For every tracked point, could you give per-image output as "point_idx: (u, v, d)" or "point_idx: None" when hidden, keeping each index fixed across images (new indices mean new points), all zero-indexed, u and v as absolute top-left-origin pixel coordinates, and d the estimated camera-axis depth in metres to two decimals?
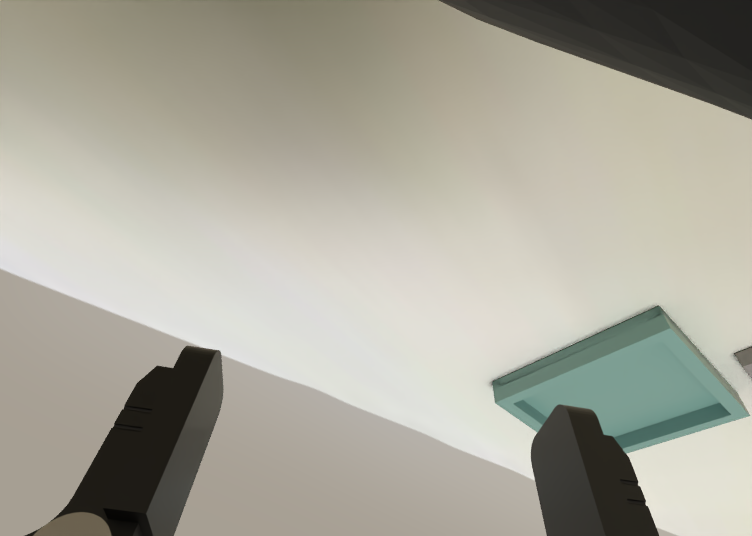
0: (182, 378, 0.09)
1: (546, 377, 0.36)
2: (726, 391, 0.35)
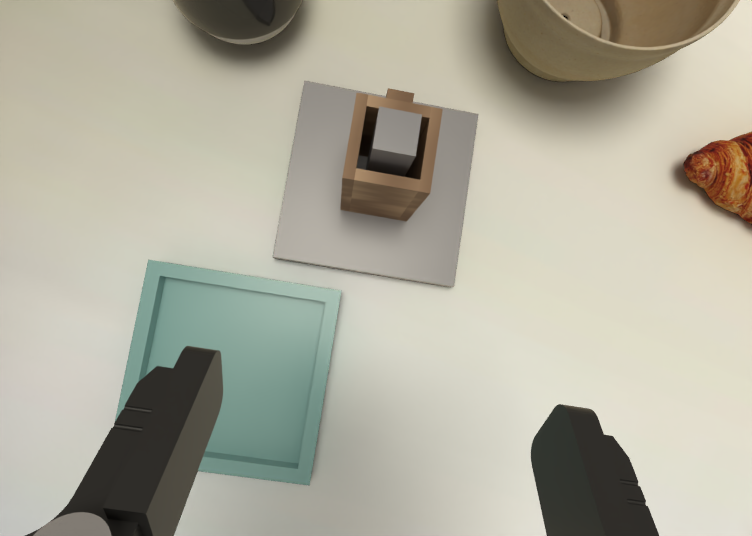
0: (182, 378, 0.09)
1: None
2: (281, 282, 0.34)
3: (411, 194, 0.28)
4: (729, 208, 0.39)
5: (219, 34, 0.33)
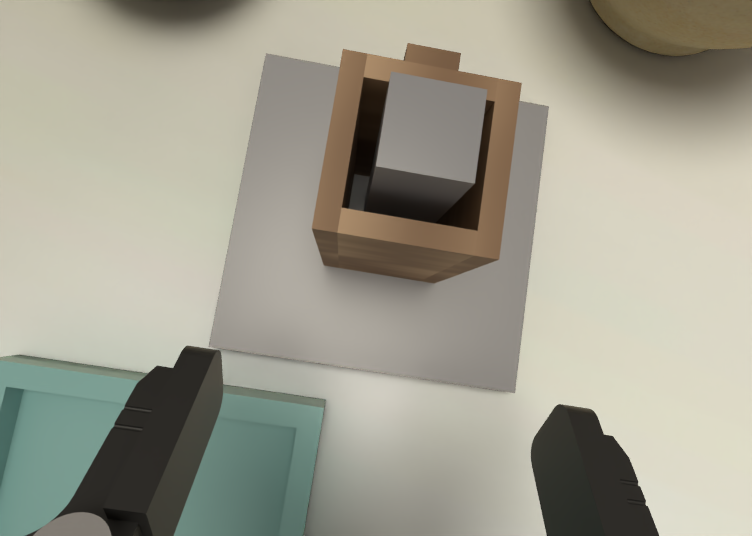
0: (182, 378, 0.09)
1: None
2: None
3: (456, 258, 0.14)
4: None
5: None
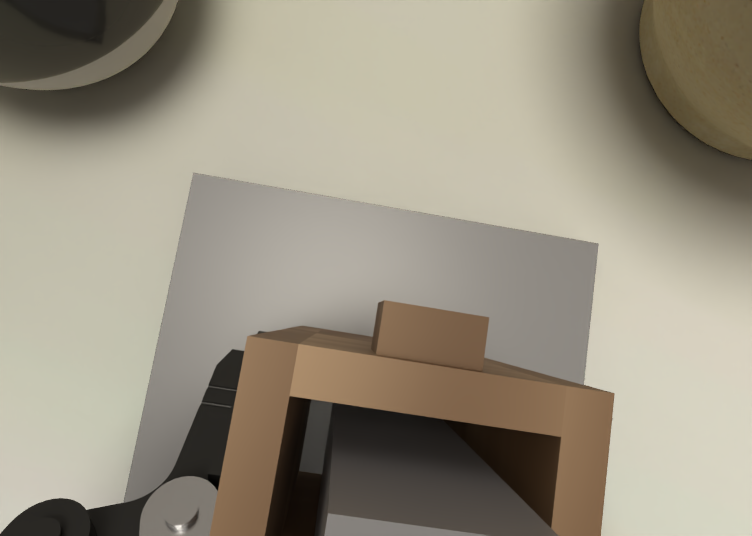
0: None
1: None
2: None
3: None
4: None
5: None
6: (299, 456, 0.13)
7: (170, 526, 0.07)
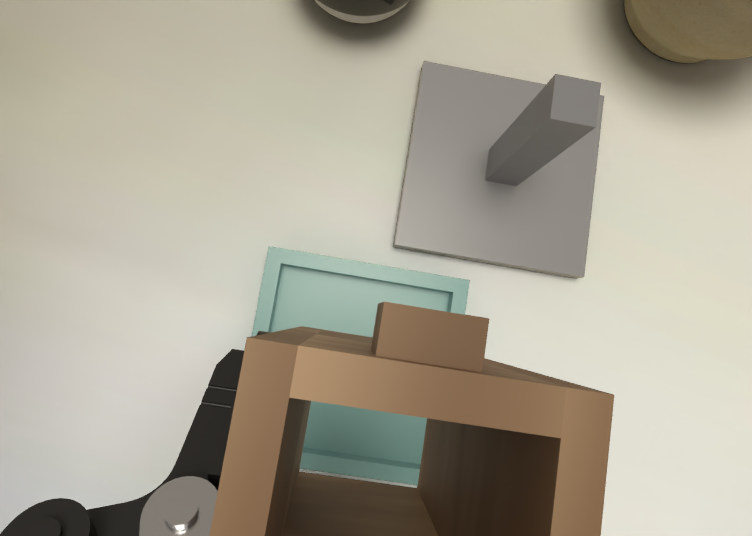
0: None
1: None
2: (406, 270, 0.32)
3: None
4: None
5: (345, 10, 0.32)
6: (299, 457, 0.13)
7: (170, 526, 0.07)
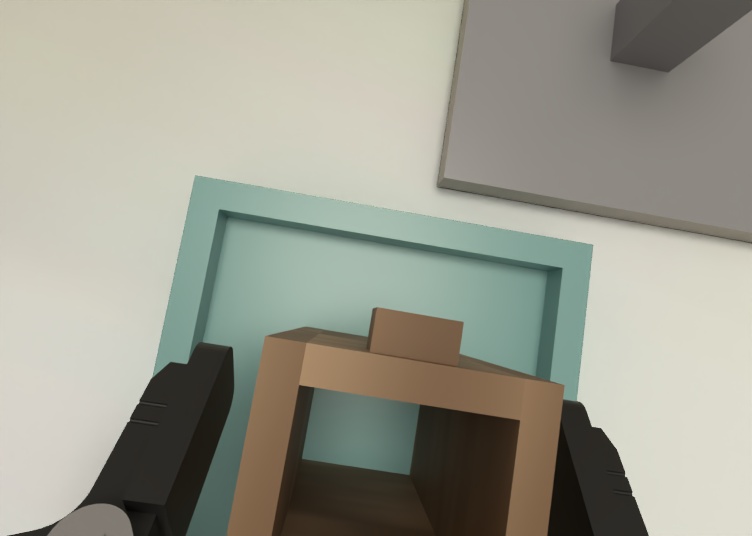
0: (196, 374, 0.10)
1: None
2: (470, 226, 0.16)
3: None
4: None
5: None
6: (302, 444, 0.15)
7: None
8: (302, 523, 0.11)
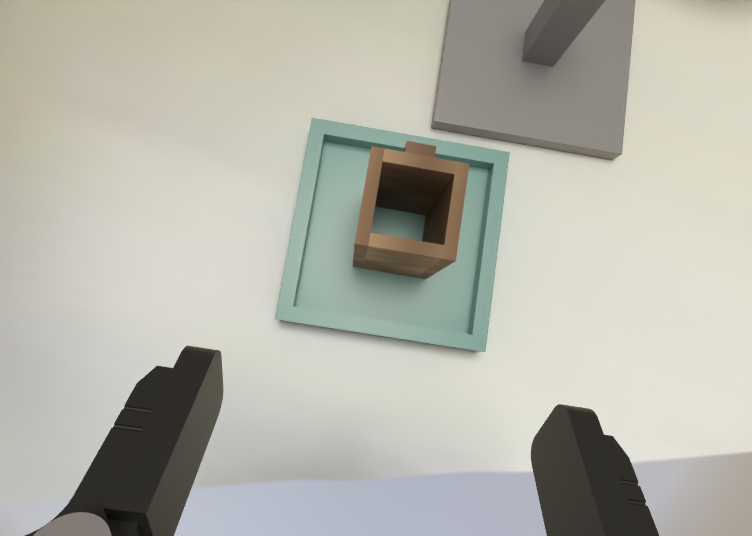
0: (182, 378, 0.09)
1: None
2: (447, 142, 0.33)
3: (433, 260, 0.25)
4: None
5: None
6: None
7: None
8: None
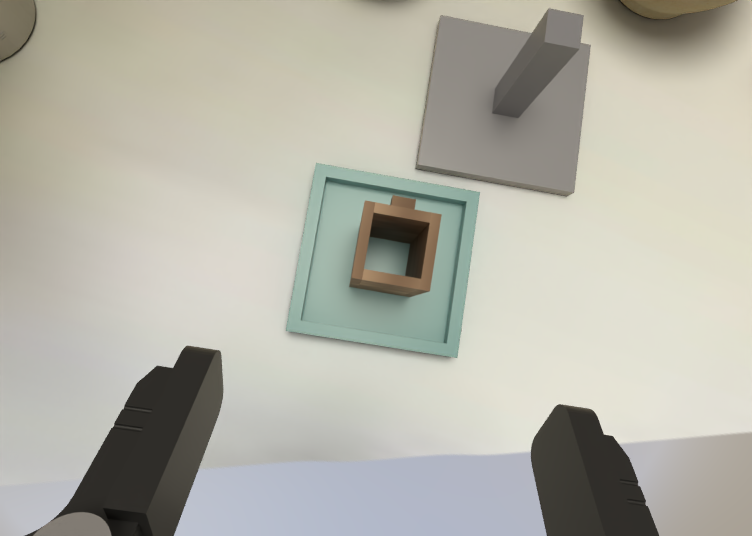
0: (182, 378, 0.09)
1: None
2: (428, 184, 0.40)
3: (413, 289, 0.32)
4: None
5: None
6: None
7: None
8: None
